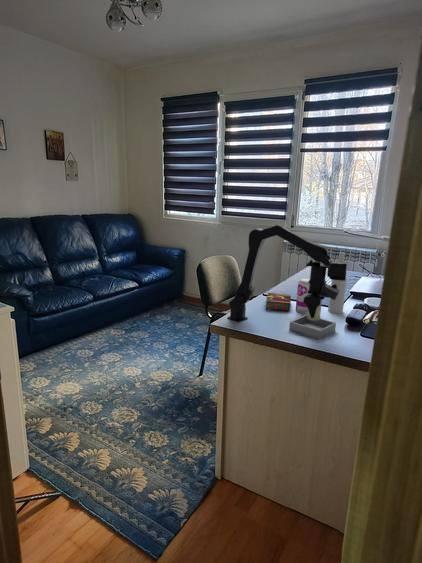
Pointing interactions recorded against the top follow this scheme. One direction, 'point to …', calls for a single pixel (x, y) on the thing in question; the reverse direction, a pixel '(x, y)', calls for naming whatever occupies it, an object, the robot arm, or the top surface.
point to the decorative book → (278, 302)
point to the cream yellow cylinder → (317, 314)
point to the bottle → (338, 303)
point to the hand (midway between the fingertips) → (313, 315)
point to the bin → (312, 327)
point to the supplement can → (302, 295)
